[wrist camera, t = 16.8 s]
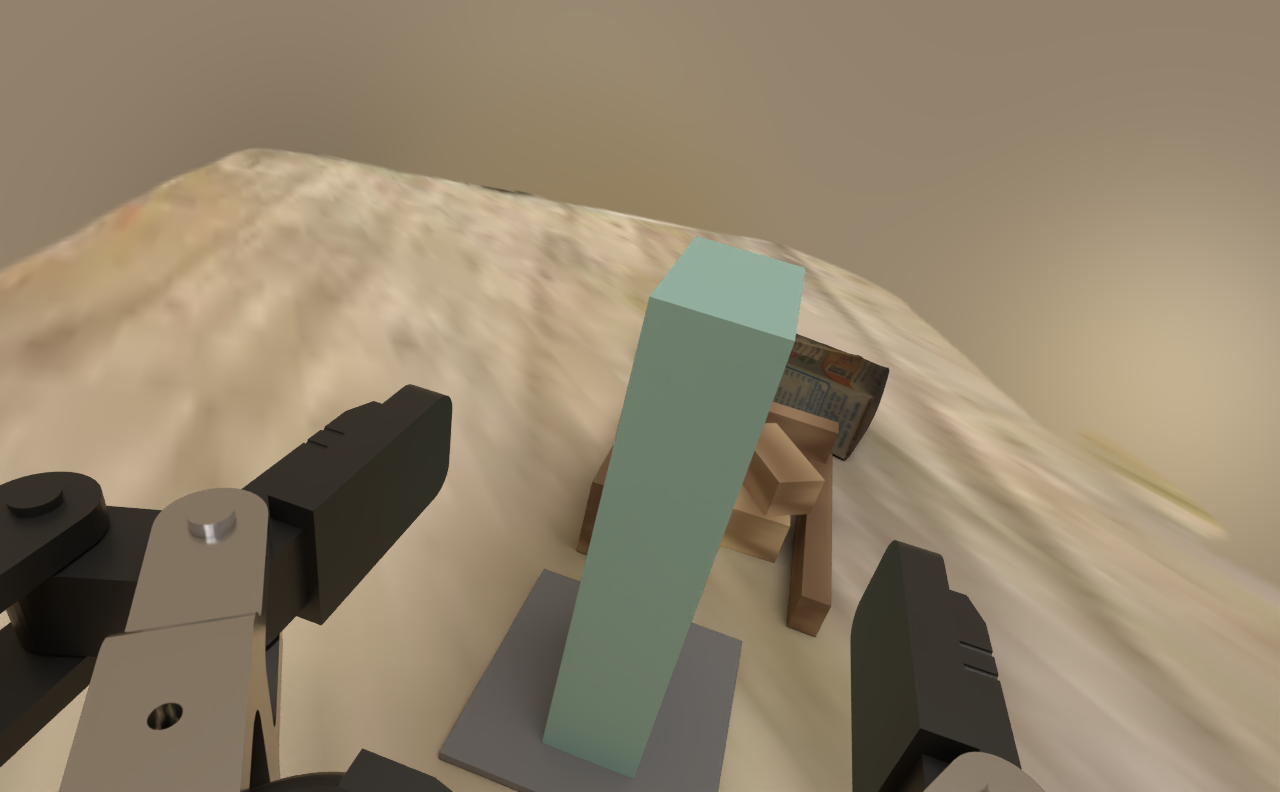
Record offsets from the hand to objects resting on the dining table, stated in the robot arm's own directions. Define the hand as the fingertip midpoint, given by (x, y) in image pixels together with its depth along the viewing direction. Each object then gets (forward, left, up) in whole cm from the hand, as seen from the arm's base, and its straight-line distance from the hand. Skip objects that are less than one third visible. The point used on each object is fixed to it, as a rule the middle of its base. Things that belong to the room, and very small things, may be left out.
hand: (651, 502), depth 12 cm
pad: (-5, -9, -20) cm, 22 cm away
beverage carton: (-25, -37, -20) cm, 49 cm away
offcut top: (-18, -21, -17) cm, 32 cm away
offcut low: (-18, -21, -20) cm, 34 cm away
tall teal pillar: (-5, -9, -19) cm, 22 cm away
